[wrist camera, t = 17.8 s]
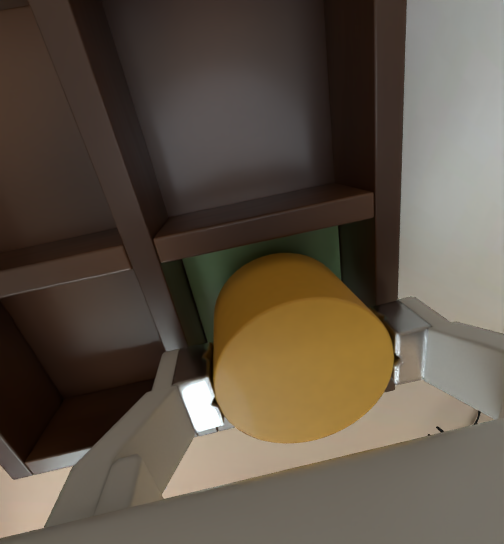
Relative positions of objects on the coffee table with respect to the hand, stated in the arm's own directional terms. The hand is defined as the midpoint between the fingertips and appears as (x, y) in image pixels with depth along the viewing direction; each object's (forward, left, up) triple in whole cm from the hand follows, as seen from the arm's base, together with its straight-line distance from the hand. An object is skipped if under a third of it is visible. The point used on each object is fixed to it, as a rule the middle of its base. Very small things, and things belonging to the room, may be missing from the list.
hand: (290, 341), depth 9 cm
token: (0, 0, -2) cm, 2 cm away
